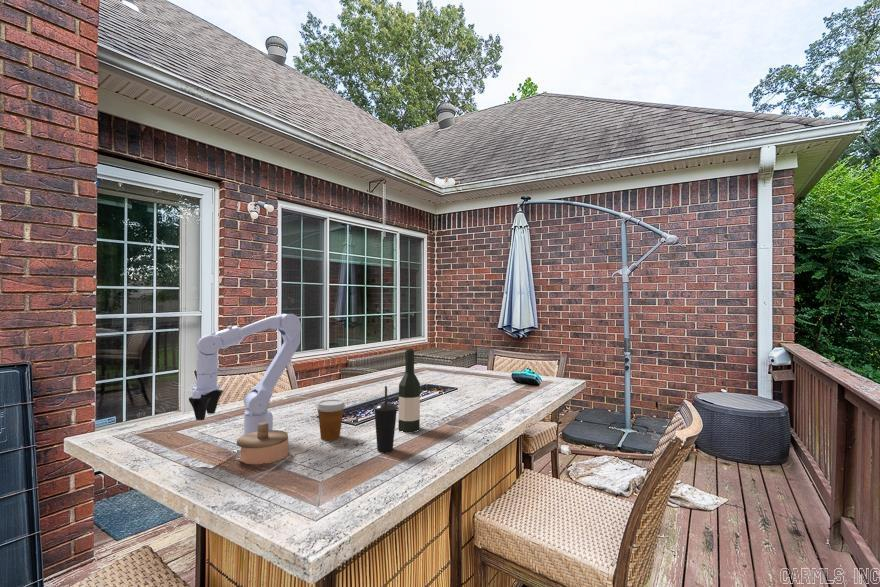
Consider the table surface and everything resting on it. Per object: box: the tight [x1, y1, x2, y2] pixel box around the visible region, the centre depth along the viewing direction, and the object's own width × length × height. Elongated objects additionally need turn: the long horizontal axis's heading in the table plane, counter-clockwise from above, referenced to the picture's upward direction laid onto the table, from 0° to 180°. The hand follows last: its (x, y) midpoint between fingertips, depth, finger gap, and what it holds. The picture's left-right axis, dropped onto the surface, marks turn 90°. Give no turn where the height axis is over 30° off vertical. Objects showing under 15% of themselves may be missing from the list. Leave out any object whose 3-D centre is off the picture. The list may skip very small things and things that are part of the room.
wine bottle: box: [397, 347, 421, 433], centre depth 147 cm, size 8×8×30 cm
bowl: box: [240, 437, 289, 465], centre depth 118 cm, size 13×13×5 cm
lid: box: [236, 422, 289, 448], centre depth 118 cm, size 14×14×5 cm
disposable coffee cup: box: [316, 399, 346, 441], centre depth 137 cm, size 10×10×12 cm
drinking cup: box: [373, 385, 399, 454], centre depth 125 cm, size 8×8×20 cm
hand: (205, 416), depth 125 cm, fingers open, 7 cm apart
